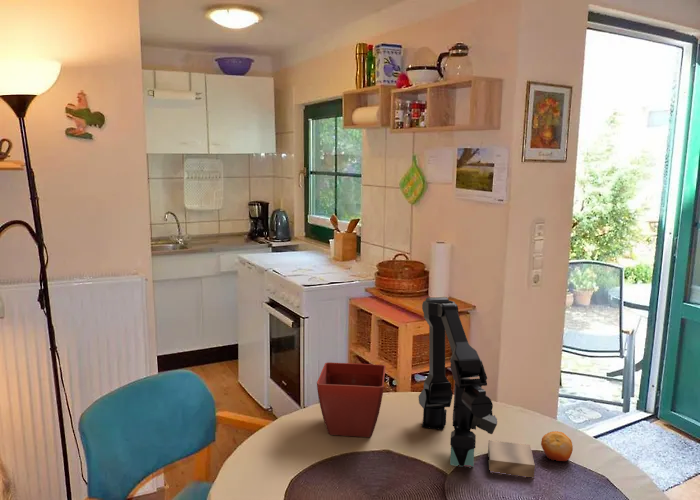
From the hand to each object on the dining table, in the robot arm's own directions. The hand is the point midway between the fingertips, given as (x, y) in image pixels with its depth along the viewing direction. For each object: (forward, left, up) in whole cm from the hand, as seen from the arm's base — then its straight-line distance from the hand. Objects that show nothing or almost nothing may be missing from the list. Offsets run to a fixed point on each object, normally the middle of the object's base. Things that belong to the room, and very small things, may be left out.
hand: (462, 456), depth 150 cm
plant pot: (-33, +12, -1) cm, 35 cm away
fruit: (+25, +8, -1) cm, 26 cm away
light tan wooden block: (+13, +1, -1) cm, 13 cm away
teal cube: (0, 0, -1) cm, 1 cm away
